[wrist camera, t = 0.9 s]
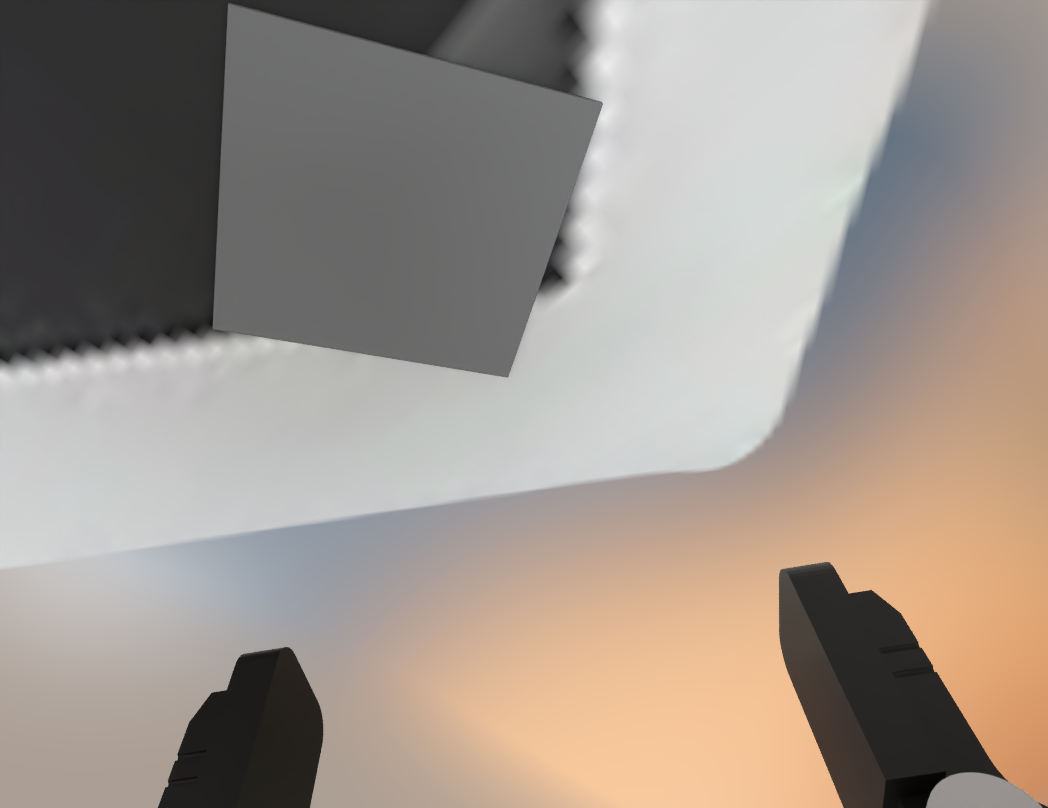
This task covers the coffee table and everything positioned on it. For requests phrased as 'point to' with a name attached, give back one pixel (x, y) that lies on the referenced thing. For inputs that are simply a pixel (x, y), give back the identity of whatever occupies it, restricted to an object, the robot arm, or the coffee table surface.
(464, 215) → the mat
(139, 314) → the coffee table surface
